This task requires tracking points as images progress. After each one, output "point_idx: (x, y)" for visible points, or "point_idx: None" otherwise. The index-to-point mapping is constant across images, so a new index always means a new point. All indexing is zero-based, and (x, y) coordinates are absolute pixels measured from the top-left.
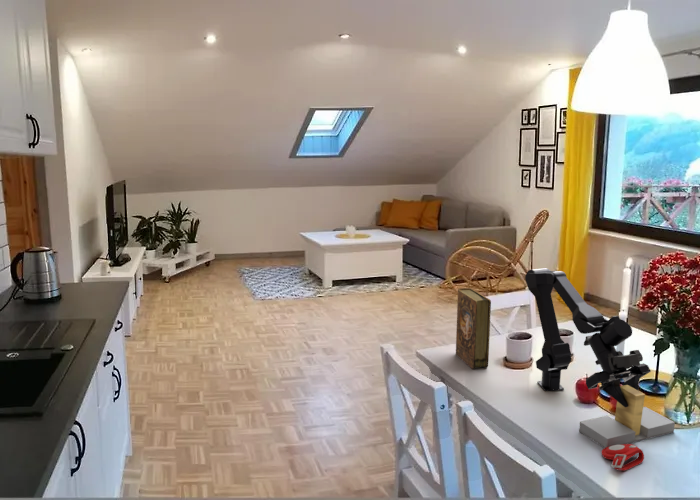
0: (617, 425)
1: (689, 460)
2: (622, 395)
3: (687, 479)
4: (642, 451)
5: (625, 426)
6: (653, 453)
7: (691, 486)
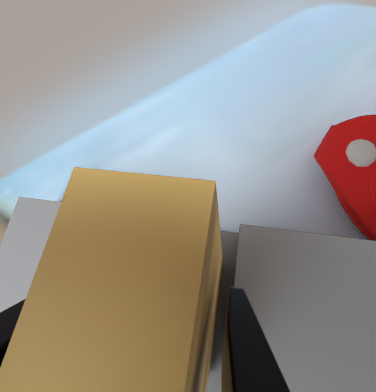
0: (268, 318)
1: (182, 89)
2: (262, 385)
3: (280, 37)
4: (339, 123)
5: (238, 285)
6: (244, 154)
7: (301, 17)
